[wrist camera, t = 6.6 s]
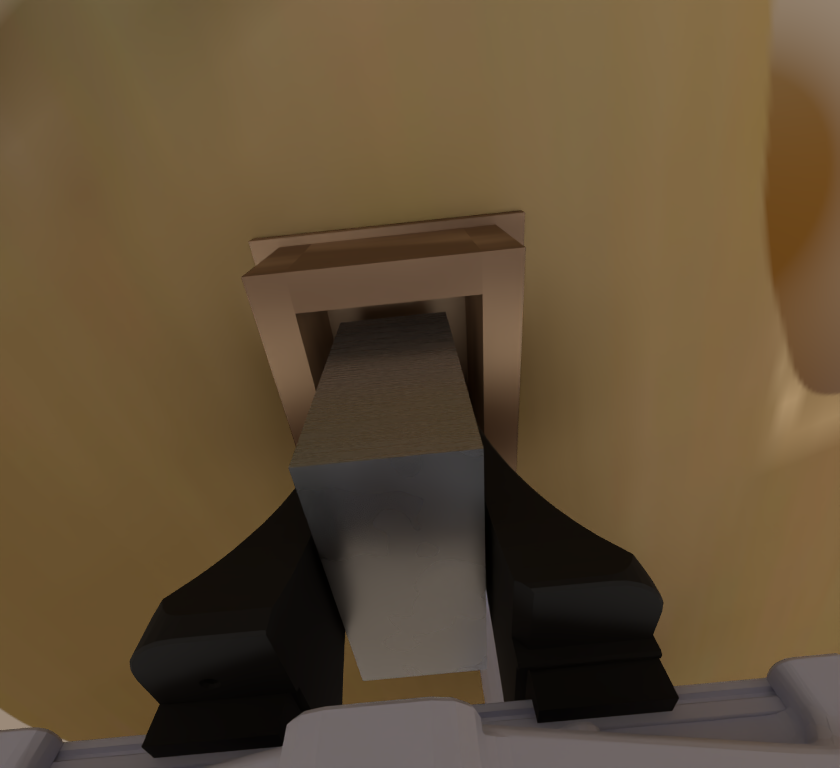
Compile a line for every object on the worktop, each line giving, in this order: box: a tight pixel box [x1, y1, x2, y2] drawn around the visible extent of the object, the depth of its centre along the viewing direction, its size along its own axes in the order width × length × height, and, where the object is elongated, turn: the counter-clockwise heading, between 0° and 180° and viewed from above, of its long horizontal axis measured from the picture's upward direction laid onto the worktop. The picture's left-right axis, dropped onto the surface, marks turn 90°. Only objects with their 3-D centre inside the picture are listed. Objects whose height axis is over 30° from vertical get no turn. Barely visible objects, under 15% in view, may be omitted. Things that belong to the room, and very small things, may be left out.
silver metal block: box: [289, 312, 487, 681], centre depth 12 cm, size 8×4×7 cm, turn 5°
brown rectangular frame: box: [241, 211, 526, 472], centre depth 16 cm, size 13×10×4 cm
